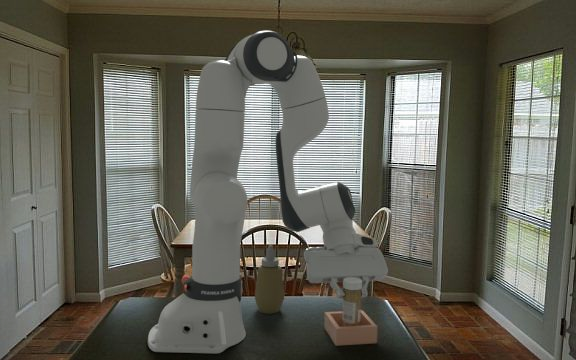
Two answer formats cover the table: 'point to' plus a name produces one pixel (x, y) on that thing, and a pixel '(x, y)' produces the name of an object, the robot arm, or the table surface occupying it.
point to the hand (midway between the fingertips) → (352, 296)
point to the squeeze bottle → (269, 284)
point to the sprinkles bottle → (351, 301)
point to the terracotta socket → (350, 330)
